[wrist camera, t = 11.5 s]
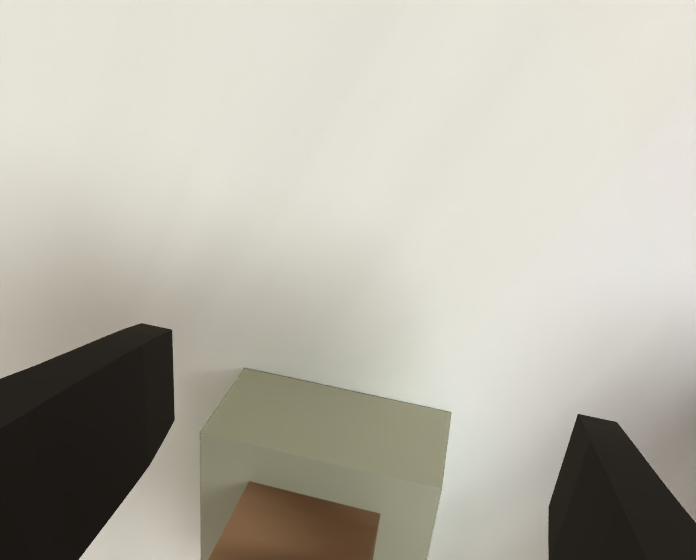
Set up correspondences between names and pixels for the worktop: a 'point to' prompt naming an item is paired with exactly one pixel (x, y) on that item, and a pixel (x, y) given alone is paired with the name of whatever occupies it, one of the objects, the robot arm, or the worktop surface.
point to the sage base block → (326, 456)
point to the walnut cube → (295, 528)
